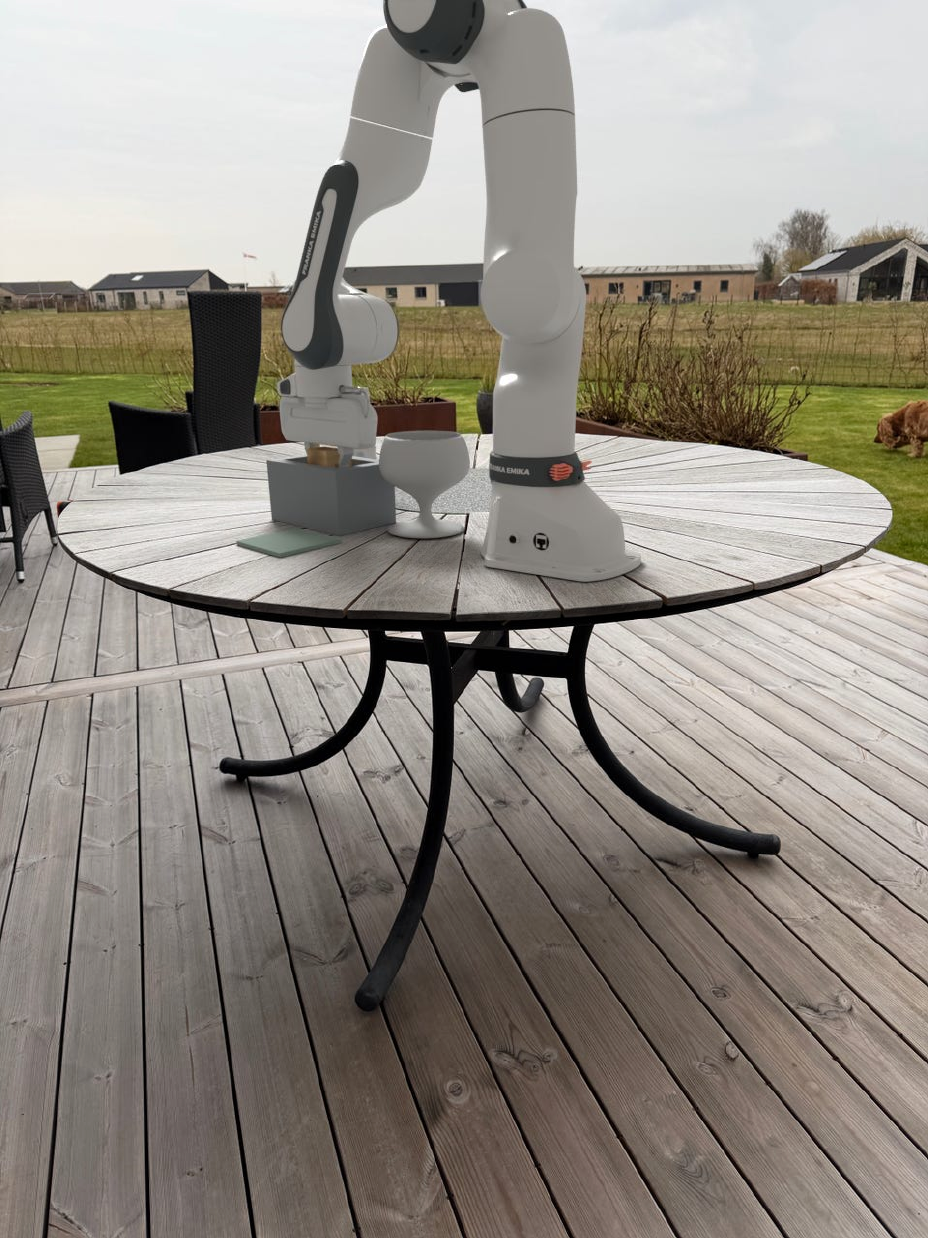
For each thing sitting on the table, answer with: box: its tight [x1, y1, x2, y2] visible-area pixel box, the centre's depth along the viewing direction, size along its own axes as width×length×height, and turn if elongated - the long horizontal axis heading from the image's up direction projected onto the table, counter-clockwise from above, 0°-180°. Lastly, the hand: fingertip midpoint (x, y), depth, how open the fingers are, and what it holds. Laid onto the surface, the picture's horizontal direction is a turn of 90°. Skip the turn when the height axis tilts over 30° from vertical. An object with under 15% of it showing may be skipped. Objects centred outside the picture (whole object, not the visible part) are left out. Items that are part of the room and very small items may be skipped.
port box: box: [266, 453, 397, 537], centre depth 130 cm, size 18×12×10 cm, turn 48°
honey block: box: [306, 445, 351, 468], centre depth 129 cm, size 5×5×6 cm
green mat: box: [235, 527, 342, 558], centre depth 118 cm, size 11×11×1 cm
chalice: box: [378, 430, 471, 539], centre depth 122 cm, size 14×14×15 cm
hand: (330, 472), depth 129 cm, fingers closed on honey block, 5 cm apart
